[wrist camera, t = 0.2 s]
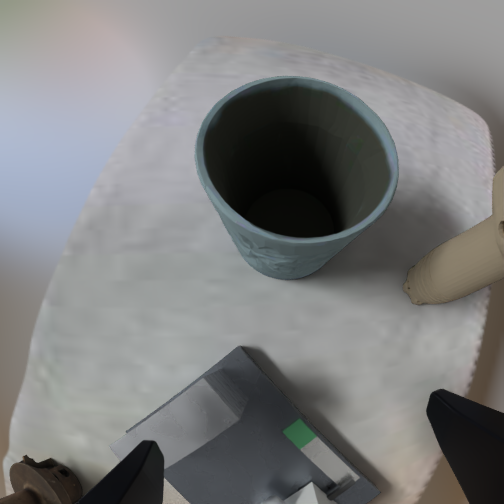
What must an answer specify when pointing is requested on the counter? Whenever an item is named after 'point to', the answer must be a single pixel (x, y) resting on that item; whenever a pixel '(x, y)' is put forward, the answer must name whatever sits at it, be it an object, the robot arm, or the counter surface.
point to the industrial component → (42, 484)
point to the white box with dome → (311, 495)
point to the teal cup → (295, 171)
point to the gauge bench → (242, 441)
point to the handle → (462, 259)
